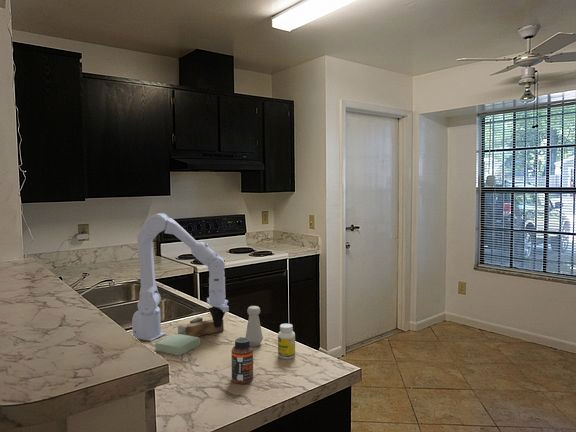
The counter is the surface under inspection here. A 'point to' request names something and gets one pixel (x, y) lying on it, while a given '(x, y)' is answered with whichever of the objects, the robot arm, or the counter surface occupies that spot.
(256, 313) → the salt shaker
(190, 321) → the leg stop
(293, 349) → the supplement bottle
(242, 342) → the supplement bottle
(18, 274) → the counter surface
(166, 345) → the stool seat
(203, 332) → the folding leg
